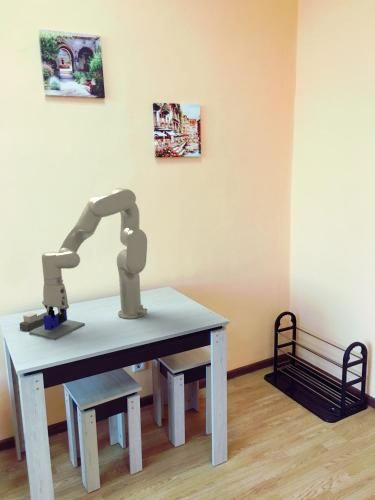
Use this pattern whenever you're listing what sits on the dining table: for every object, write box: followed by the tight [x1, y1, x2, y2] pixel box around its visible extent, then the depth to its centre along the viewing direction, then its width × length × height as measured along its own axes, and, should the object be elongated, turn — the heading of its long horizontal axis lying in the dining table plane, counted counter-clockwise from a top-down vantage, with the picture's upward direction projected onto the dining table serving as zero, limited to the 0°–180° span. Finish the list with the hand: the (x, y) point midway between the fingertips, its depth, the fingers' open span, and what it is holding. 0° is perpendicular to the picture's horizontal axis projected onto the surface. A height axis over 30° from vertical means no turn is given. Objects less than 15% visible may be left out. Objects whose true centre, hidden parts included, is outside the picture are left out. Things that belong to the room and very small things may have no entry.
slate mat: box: [28, 319, 86, 341], centre depth 183 cm, size 15×18×1 cm
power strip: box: [19, 311, 48, 332], centre depth 189 cm, size 5×16×6 cm, turn 152°
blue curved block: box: [43, 308, 68, 330], centre depth 180 cm, size 12×4×6 cm, turn 162°
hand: (56, 320), depth 182 cm, fingers closed on blue curved block, 5 cm apart
